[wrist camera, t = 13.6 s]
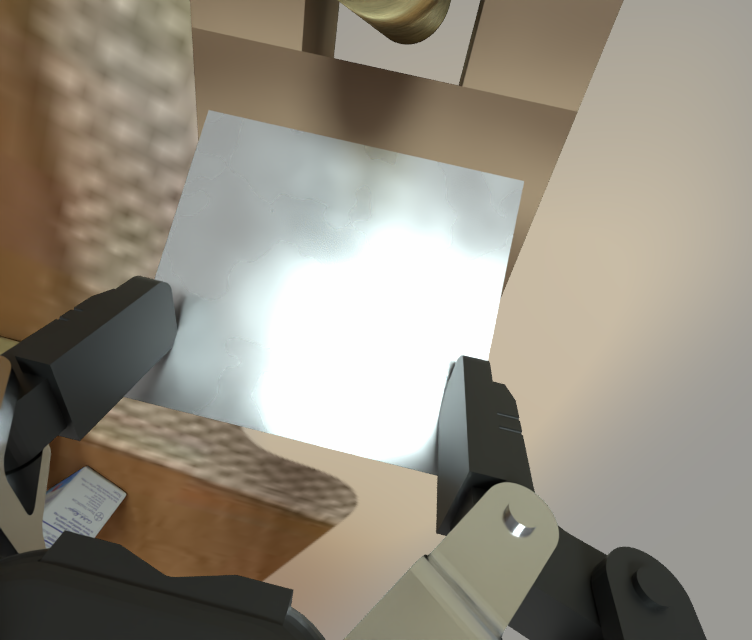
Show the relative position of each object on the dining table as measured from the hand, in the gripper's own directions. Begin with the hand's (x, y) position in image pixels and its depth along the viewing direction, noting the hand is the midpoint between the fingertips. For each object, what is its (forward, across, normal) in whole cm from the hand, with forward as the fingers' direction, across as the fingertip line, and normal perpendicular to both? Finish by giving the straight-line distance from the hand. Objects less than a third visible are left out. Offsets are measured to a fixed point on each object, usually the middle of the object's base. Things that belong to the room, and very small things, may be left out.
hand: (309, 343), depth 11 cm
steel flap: (+2, 0, 0) cm, 2 cm away
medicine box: (+9, +21, +30) cm, 38 cm away
